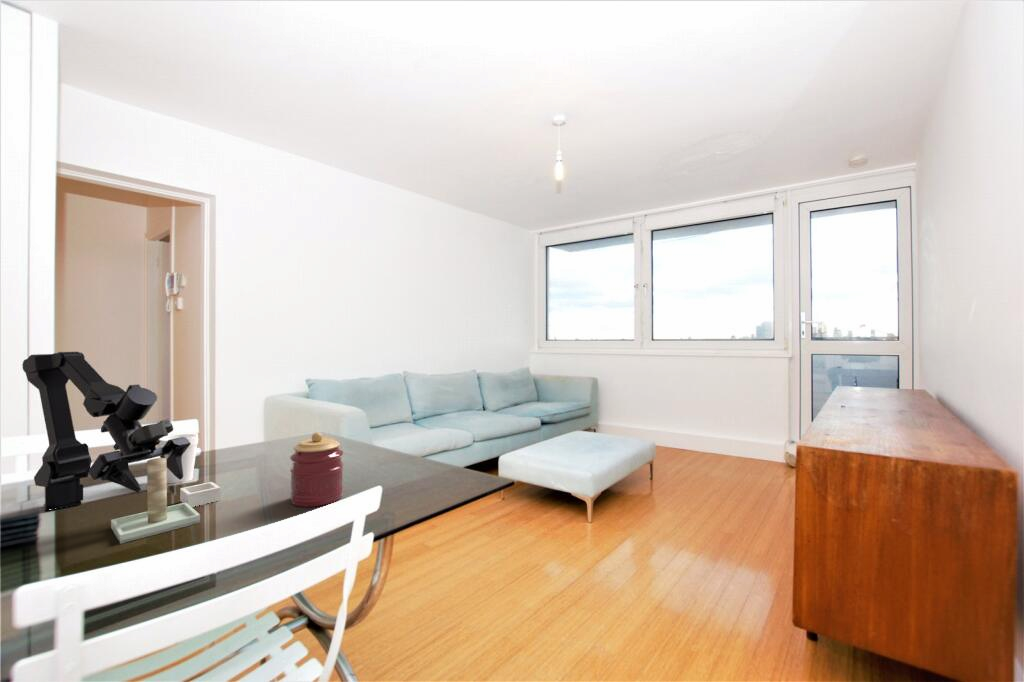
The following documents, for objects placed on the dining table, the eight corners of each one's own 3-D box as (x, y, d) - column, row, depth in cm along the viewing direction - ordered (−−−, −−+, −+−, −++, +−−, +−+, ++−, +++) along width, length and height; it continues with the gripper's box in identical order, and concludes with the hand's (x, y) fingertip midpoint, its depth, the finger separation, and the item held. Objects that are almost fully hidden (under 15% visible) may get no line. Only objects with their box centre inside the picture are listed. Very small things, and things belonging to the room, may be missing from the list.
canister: (352, 497, 119) (352, 431, 119) (303, 512, 109) (302, 440, 109) (329, 487, 127) (329, 425, 127) (282, 499, 118) (281, 432, 118)
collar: (187, 508, 112) (187, 494, 112) (180, 501, 116) (180, 488, 116) (220, 500, 117) (220, 487, 117) (212, 494, 122) (211, 481, 122)
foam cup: (206, 475, 138) (205, 434, 138) (181, 485, 129) (180, 440, 129) (178, 474, 139) (177, 433, 139) (151, 484, 130) (150, 440, 130)
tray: (120, 543, 93) (120, 535, 93) (111, 527, 100) (111, 519, 100) (200, 522, 103) (200, 514, 103) (186, 509, 111) (186, 502, 111)
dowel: (145, 524, 101) (145, 463, 100) (150, 518, 104) (149, 458, 103) (164, 521, 102) (164, 461, 102) (168, 515, 105) (168, 457, 105)
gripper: (96, 417, 95) (132, 473, 92) (184, 405, 113) (217, 451, 110) (73, 451, 98) (107, 507, 94) (163, 433, 116) (194, 480, 112)
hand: (161, 484), depth 103 cm, fingers open, 9 cm apart
